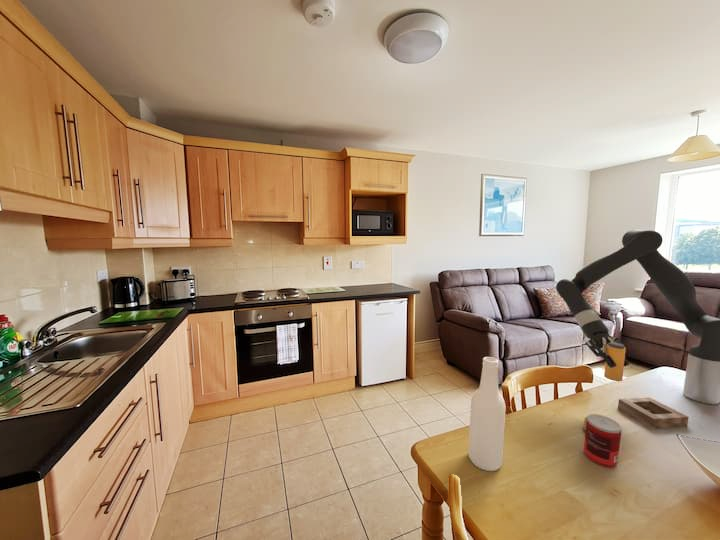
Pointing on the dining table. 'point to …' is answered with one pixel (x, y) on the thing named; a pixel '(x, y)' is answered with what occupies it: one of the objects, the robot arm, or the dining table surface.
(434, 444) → the dining table surface
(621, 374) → the orange travel mug
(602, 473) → the dining table surface
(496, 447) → the alcohol
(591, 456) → the canned food
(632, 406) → the wooden square frame
